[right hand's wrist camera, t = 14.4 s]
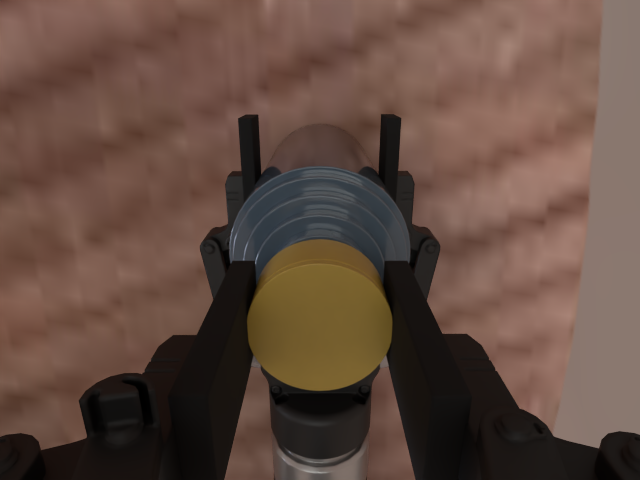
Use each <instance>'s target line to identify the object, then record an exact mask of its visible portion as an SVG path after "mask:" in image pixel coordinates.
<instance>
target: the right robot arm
mask: <svg viewBox="0 0 640 480" xmlns="http://www.w3.org/2000/svg"><path fill="white" fill-rule="evenodd" d="M256 285H257V283H256V265H255V261H232V262H231V265H230V267H229V269H228V271H227V273H226V275H225V277H224V279H223V281H222V283H221V285H220V288H219V290H218V292H217V294H216V296H215V298H214V300H213V302H212V304H211V306H210V309H209V311H208V313H207V315H206V317H205V319H204V321H203V323H202V325H201V327H200V330H199V332H198V334H197V335H173V336H172V337H170V338H169V339H168V340H166V341H165V342H164V343H162V344H161V345H160V346H159V347H158V349H157V350H156V352H155V354H154V355H153V357H152V359H151V362H149V364H148V365H147V367H146V369H145V372H144V373H143V374H139V373H124V374H119V375H115V376H111V377H108V378H106V379H104V380H102V381H100V382H97V383H96V384H94V385H93V386H92V387H90V388H89V389H88V390H87V391H85V393H84V394H83V396H82V397H81V398H80V400H79V404H80V408H81V412H82V416H83V420H84V425H85V429H86V433H87V438H86V439H83V440H80V441H77V442H73V443H70V444H65V445H61V446H57V447H53V448H49V449H45V450H41V448H40V445H39V442H38V441H37V440H36V439H35V438H34V437H33V436H32V435H27V434H22V433H18V434H10V435H5V436H2V437H0V480H224V478H225V474H226V469H227V465H228V461H229V457H230V453H231V448H232V444H233V440H234V436H235V432H236V427H237V423H238V419H239V415H240V411H241V406H242V402H243V398H244V394H245V390H246V385H247V381H248V377H249V373H250V368H251V364H252V360H253V356H254V355H253V352H252V350H251V348H250V345H249V342H248V328H247V315H248V311H249V308H250V305H251V302H252V298H253V295H254V292H255V289H256ZM383 286H384V290H385V293H386V296H387V300H388V303H389V306H390V309H391V313H392V318H393V323H392V338H391V344H390V347H389V349H388V352H387V354H386V357H387V361H388V365H389V370H390V374H391V378H392V382H393V386H394V391H395V395H396V399H397V403H398V407H399V412H400V416H401V420H402V424H403V429H404V433H405V437H406V441H407V445H408V450H409V454H410V458H411V462H412V466H413V471H414V475H415V479H416V480H640V435H638V434H635V433H629V432H621V431H619V432H614V433H609V434H607V435H606V436H605V437H604V438H603V439H602V440H601V444H600V447H599V448H594V447H590V446H586V445H582V444H578V443H573V442H569V441H566V440H563V439H559V438H556V437H554V436H553V435H552V433H551V432H550V430H549V428H548V427H547V425H546V424H544V423H543V422H542V421H541V420H540V419H539V418H537V417H536V416H534V415H532V414H530V413H529V412H527V411H525V410H522V409H519V407H518V405H517V404H516V402H515V400H514V399H513V397H512V395H511V394H510V392H509V390H508V389H507V387H506V386H505V384H504V382H503V381H502V379H501V377H500V376H499V374H498V372H497V371H495V367H494V366H493V364H492V362H491V361H490V360H489V357H488V356H487V354H486V352H485V351H484V349H483V347H482V346H481V345H480V344H479V343H478V342H477V341H475V340H474V339H473V338H471V337H470V336H469V335H468V334H442V332H441V330H440V328H439V326H438V324H437V322H436V320H435V318H434V315H433V313H432V311H431V309H430V307H429V305H428V303H427V301H426V299H425V297H424V294H423V292H422V290H421V288H420V286H419V284H418V282H417V280H416V278H415V276H414V274H413V271H412V269H411V267H410V265H409V263H408V261H384V278H383Z"/></svg>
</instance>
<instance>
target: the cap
mask: <svg viewBox="0 0 640 480" xmlns="http://www.w3.org/2000/svg"><path fill="white" fill-rule="evenodd" d="M392 323H393V318H392V313H391V309H390V306H389V303H388V300H387V296H386V293H385V290H384V286H383V283H382V280H381V277H380V275H379V273H378V271H377V269H376V268H375V266H374V265H373V263H372V262H371V261H370V260H369V259H368V258H367V257H366V256H365V255H363V254H362V253H361V252H360V251H358V250H356V249H355V248H353V247H351V246H349V245H347V244H344V243H341V242H338V241H333V240H325V239H315V240H307V241H302V242H299V243H296V244H293V245H291V246H289V247H286V248H285V249H283V250H282V251H280V252H279V253H277V254H276V255H275V256H274V257H273V258H272V259H271V260H270V261H269V262H268V263H267V264H266V266H265V267H264V269H263V270H262V272H261V274H260V276H259V279H258V282H257V285H256V289H255V292H254V295H253V298H252V302H251V305H250V308H249V311H248V315H247V328H248V342H249V345H250V348H251V350H252V352H253V355H254V356H255V358H256V359H257V361H258V362H259V363H260V365H261V366H262V367H263V368H264V369H265V370H266V371H267V372H268V373H269V374H271V375H272V376H274V377H275V378H276V379H278V380H280V381H282V382H284V383H286V384H288V385H291V386H293V387H297V388H300V389H305V390H313V391H327V390H334V389H339V388H343V387H347V386H349V385H352V384H354V383H356V382H358V381H360V380H362V379H363V378H365V377H366V376H367V375H369V374H370V373H371V372H372V371H373V370H375V369H376V368H377V366H378V365H379V364H380V363H381V362H382V360H383V359H384V357H385V356H386V354H387V352H388V349H389V347H390V344H391V338H392Z"/></svg>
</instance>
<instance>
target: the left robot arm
mask: <svg viewBox="0 0 640 480" xmlns="http://www.w3.org/2000/svg"><path fill="white" fill-rule="evenodd" d="M238 123H239V138H240V153H241V168H242V171H232V172H231V173H230V174H229V176H228V178H227V181H226V184H225V187H226V199H227V212H228V224H227V225H225V226H222V227H215V228H213V229H211V230H210V232H209V233H208V235H207V236H206V237H205V239H204V240H203V241H202V243H201V245H200V251H201V255H202V259H203V262H204V266H205V270H206V274H207V277H208V281H209V285H210V288H211V292H212V296H213V300H214V298H215V296H216V294H217V292H218V290H219V288H220V285H221V283H222V281H223V279H224V277H225V275H226V273H227V271H228V269H229V267H230V265H231V263H230V256H229V244H230V237H231V231H232V228H233V225H234V222H235V219H236V217H237V215H238V213H239V211H240V209H241V208H242V206H243V204H244V203H245V201H246V199H247V198H248V196H249V194H250V193H251V191H252V189H253V188H254V186H255V184H256V183H257V181H258V180H259V178H260V176H261V161H260V141H259V121H258V115H244V116H242V117H240V118H238ZM400 129H401V118H400V117H398V116H396V115H394V114H381V131H380V153H379V177H380V178H381V180H382V182H383V183H384V185H385V187H386V188H387V190H388V192H389V193H390V195H391V197H392V198H393V200H394V202H395V203H396V205H397V207H398V208H399V210H400V212H401V213H402V216H403V218H404V220H405V222H406V226H407V229H408V233H409V239H410V261H409V265H410V267H411V269H412V271H413V274H414V276H415V278H416V280H417V282H418V284H419V286H420V288H421V290H422V292H423V294H424V297H425V299H426V301H427V297H428V293H429V290H430V286H431V282H432V278H433V275H434V271H435V267H436V263H437V259H438V256H439V252H440V244H439V242H438V241H437V239H436V238H435V237H434V235H433V234H432V233H431V231H430V230H429V229H428V228H426V227H419V226H416V225H413V224H412V211H413V198H414V185H415V184H414V181H413V178H412V175H411V174H410V173H409V172H408V171H398V162H399V146H400ZM251 366H252V367H258V368H261V371H262V373H263V374H264V376H265V377H266V379H267V381H268V383H269V394H270V413H271V428H272V450H273V464H274V480H367V472H368V455H369V427H370V411H371V390H372V382H373V380H374V378H375V376H376V375H377V374H378V372H379V369H380V368H384V367H389V365H388V361H387V357H386V356H385V357H384V359H383V360H382V362H381V363H380V364H379V365H378V366H377V368H376V369H375V370H373V371H372V372H371V373H370V374H369V375H367V376H366V377H365V378H363V379H362V380H360V381H358V382H356V383H354V384H352V385H349V386H347V387H343V388H339V389H334V390H327V391H313V390H305V389H300V388H297V387H293V386H291V385H288V384H286V383H284V382H282V381H280V380H278V379H276V378H275V377H274V376H272V375H271V374H269V373H268V372H267V371H266V370H265V369H264V368H263V367H262V366H261V365H260V363H259V362H258V361H257V359H256V358H255V356H253V360H252V364H251Z"/></svg>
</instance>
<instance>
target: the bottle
mask: <svg viewBox="0 0 640 480" xmlns="http://www.w3.org/2000/svg"><path fill="white" fill-rule="evenodd" d="M315 239H325V240H333V241H338V242H341V243H344V244H347V245H349V246H351V247H353V248H355V249H356V250H358V251H360V252H361V253H362V254H363V255H365V256H366V257H367V258H368V259H369V260H370V261H371V262H372V263H373V265H374V266H375V268H376V269H377V271H378V273H379V275H380V277H381V280H382V283H383V278H384V261H408V263H409V261H410V239H409V233H408V229H407V226H406V222H405V220H404V218H403V216H402V213H401V212H400V210H399V208H398V207H397V205H396V203H395V202H394V200H393V198H392V197H391V195H390V193H389V192H388V190H387V188H386V187H385V185H384V183H383V182H382V180H381V178H380V177H379V175H378V173H377V172H376V170H375V168H374V167H373V165H372V163H371V162H370V160H369V158H368V157H367V155H366V153H365V152H364V150H363V149H362V147H361V145H360V144H359V143H358V141H357V140H356V139H355V138H354V137H353V136H352V135H350V134H349V133H347V132H346V131H344V130H342V129H340V128H338V127H335V126H332V125H327V124H313V125H308V126H305V127H302V128H299V129H297V130H295V131H294V132H292V133H291V134H289V135H288V136H287V137H286V138H285V139H284V140H283V141H282V142H281V144H280V145H279V147H278V148H277V150H276V151H275V153H274V155H273V156H272V158H271V160H270V161H269V163H268V165H267V166H266V168H265V170H264V171H263V173H262V175H261V176H260V178H259V180H258V181H257V183H256V184H255V186H254V188H253V189H252V191H251V193H250V194H249V196H248V198H247V199H246V201H245V203H244V204H243V206H242V208H241V209H240V211H239V213H238V215H237V217H236V219H235V222H234V225H233V228H232V231H231V237H230V244H229V256H230V263H231V262H232V261H255V265H256V283H257V282H258V279H259V276H260V274H261V272H262V270H263V269H264V267H265V266H266V264H267V263H268V262H269V261H270V260H271V259H272V258H273V257H274V256H275V255H276V254H277V253H279V252H280V251H282V250H283V249H285V248H286V247H289V246H291V245H293V244H296V243H299V242H302V241H307V240H315Z"/></svg>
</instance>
